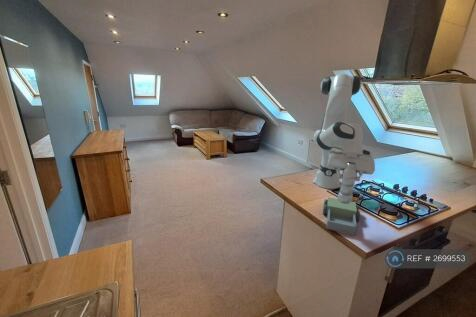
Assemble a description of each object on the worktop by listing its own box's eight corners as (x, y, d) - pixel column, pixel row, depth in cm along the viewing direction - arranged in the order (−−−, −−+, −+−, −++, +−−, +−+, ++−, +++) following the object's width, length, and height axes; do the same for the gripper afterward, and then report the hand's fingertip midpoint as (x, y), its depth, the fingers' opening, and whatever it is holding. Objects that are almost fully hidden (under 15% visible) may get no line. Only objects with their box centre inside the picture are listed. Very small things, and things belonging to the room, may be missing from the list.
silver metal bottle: (335, 203, 106) (342, 163, 100) (338, 197, 112) (345, 159, 105) (350, 207, 103) (358, 166, 97) (352, 201, 108) (360, 162, 102)
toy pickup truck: (323, 205, 129) (325, 196, 127) (356, 211, 123) (358, 202, 121) (321, 227, 109) (323, 217, 107) (360, 236, 103) (363, 225, 101)
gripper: (329, 147, 110) (325, 173, 104) (376, 153, 102) (375, 180, 97) (328, 153, 115) (324, 178, 110) (373, 159, 107) (371, 185, 102)
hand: (348, 179), depth 103 cm, fingers closed on silver metal bottle, 6 cm apart
